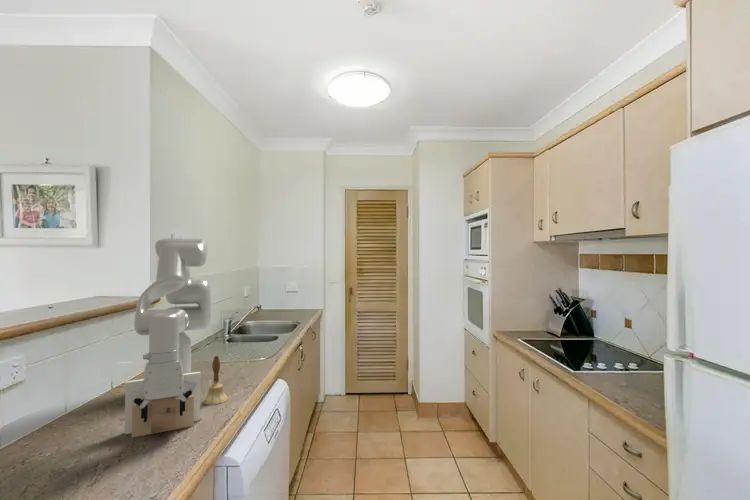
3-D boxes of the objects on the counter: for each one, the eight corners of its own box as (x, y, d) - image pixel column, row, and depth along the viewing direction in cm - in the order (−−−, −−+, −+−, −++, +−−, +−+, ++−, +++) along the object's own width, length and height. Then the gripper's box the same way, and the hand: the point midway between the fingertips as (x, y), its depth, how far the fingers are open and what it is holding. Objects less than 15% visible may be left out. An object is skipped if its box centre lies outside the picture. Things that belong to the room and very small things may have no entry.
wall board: (125, 432, 112) (125, 381, 113) (199, 418, 122) (200, 371, 122) (123, 439, 108) (124, 386, 108) (200, 424, 118) (201, 375, 118)
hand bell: (233, 397, 140) (233, 354, 140) (216, 406, 132) (217, 360, 132) (214, 395, 142) (215, 352, 142) (197, 403, 134) (198, 357, 135)
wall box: (152, 421, 114) (152, 388, 114) (175, 417, 117) (175, 385, 116) (151, 435, 106) (151, 399, 106) (175, 430, 109) (175, 396, 109)
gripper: (126, 364, 102) (126, 429, 102) (198, 355, 110) (197, 416, 110) (129, 357, 109) (129, 418, 109) (196, 350, 117) (196, 407, 117)
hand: (163, 417), depth 109 cm, fingers open, 8 cm apart
